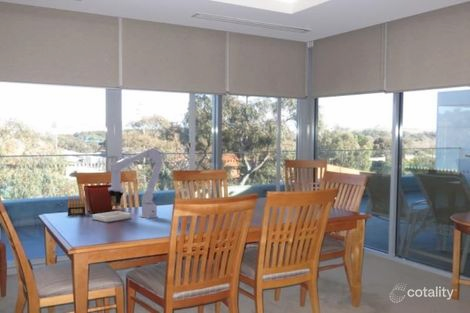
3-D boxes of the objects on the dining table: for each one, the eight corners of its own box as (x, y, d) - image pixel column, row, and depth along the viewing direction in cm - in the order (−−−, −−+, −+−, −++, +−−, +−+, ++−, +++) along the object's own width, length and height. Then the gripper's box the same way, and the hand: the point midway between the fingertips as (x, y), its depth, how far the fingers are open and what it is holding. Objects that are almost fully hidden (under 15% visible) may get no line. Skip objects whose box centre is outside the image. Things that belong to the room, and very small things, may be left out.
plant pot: (83, 209, 314) (83, 185, 313) (111, 207, 322) (111, 184, 322) (87, 214, 297) (87, 188, 296) (117, 212, 305) (117, 187, 305)
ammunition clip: (67, 215, 291) (67, 196, 290) (67, 214, 293) (67, 196, 292) (85, 214, 295) (85, 196, 294) (85, 214, 296) (85, 195, 296)
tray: (130, 218, 284) (130, 213, 284) (106, 222, 270) (106, 217, 270) (117, 215, 293) (117, 210, 293) (92, 219, 279) (92, 214, 279)
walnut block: (120, 205, 289) (120, 196, 288) (115, 206, 286) (115, 196, 285) (116, 204, 291) (116, 195, 291) (111, 205, 288) (111, 196, 288)
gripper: (103, 181, 289) (103, 202, 290) (117, 182, 280) (117, 204, 280) (113, 180, 294) (113, 201, 295) (126, 182, 285) (126, 203, 286)
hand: (115, 202), depth 288 cm, fingers closed on walnut block, 4 cm apart
